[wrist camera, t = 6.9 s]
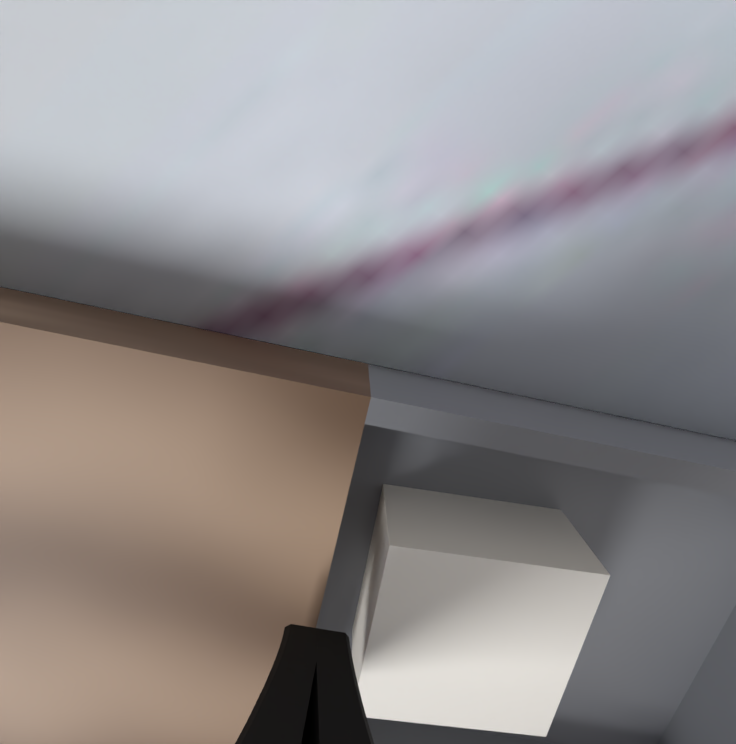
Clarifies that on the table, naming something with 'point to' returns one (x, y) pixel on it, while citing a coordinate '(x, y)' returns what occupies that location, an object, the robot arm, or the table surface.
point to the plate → (158, 519)
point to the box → (597, 528)
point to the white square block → (471, 611)
